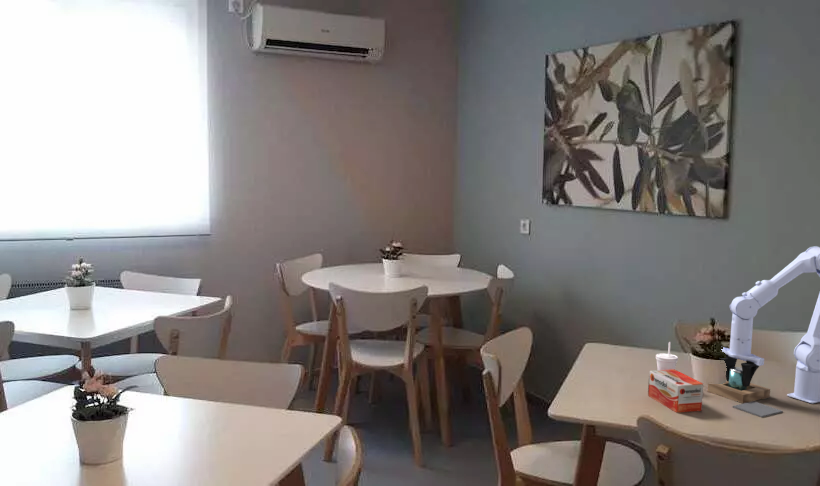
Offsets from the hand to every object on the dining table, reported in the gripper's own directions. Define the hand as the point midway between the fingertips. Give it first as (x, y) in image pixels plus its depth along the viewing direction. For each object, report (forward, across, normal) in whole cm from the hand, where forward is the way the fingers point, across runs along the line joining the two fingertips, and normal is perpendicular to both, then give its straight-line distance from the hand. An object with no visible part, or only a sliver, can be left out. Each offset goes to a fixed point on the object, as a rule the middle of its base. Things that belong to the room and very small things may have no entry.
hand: (737, 383), depth 222 cm
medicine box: (+4, -3, -23) cm, 24 cm away
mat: (+3, +12, -6) cm, 14 cm away
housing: (+3, 0, +1) cm, 3 cm away
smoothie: (+4, -14, -14) cm, 20 cm away
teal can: (+3, 0, 0) cm, 3 cm away
